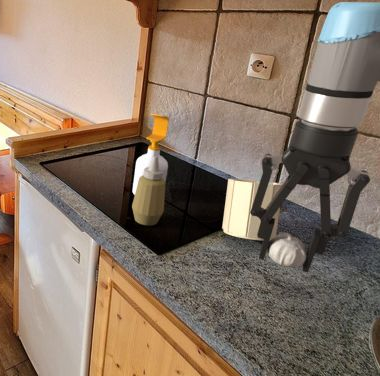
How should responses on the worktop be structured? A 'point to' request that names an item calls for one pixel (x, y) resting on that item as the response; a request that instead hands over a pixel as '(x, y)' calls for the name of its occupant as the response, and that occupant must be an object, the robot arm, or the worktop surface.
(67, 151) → the worktop surface
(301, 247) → the garlic
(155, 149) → the soap bottle
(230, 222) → the bin
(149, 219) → the squeeze bottle
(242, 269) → the worktop surface
